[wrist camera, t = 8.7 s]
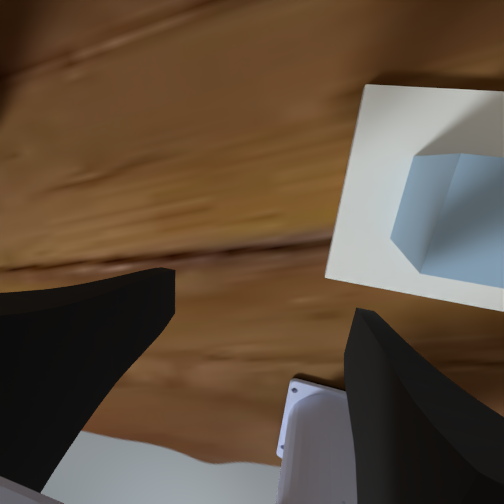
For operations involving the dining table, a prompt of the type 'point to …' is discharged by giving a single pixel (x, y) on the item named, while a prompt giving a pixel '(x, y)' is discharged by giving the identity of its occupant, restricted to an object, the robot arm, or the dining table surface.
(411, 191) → the blue block
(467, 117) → the plate
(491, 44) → the dining table surface
